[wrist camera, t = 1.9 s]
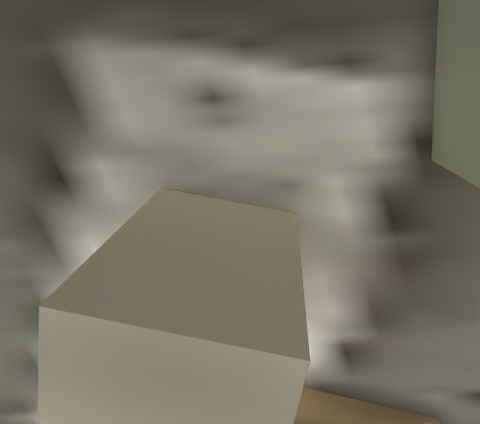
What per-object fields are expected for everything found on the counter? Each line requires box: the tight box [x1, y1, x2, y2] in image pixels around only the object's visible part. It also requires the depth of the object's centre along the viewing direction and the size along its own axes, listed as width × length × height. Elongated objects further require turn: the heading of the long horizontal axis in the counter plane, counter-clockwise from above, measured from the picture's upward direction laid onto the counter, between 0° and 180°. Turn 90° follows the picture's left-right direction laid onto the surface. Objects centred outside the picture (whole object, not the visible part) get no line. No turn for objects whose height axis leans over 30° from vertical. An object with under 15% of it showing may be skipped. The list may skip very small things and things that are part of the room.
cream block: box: [38, 188, 310, 424], centre depth 15 cm, size 6×6×10 cm
